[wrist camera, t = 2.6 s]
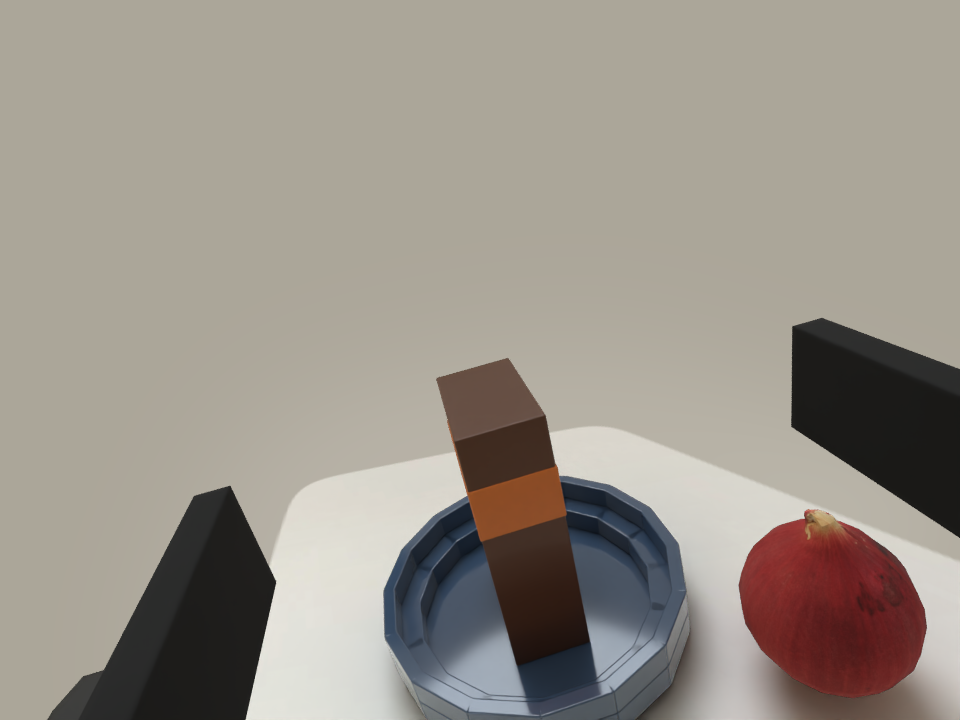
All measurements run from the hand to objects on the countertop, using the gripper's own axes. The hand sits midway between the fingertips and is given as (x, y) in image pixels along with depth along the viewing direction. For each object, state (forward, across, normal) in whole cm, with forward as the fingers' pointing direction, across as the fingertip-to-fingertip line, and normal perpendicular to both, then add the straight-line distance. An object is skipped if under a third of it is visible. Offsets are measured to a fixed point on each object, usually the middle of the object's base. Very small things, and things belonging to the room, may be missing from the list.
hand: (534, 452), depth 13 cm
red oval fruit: (+3, +10, -16) cm, 19 cm away
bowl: (+10, 0, -16) cm, 18 cm away
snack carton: (+10, 0, -15) cm, 18 cm away
